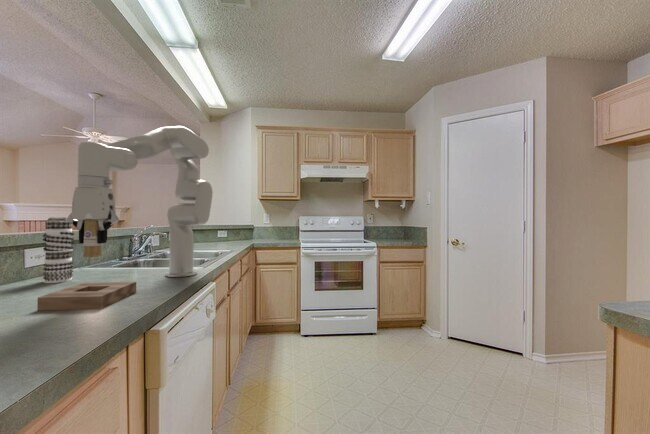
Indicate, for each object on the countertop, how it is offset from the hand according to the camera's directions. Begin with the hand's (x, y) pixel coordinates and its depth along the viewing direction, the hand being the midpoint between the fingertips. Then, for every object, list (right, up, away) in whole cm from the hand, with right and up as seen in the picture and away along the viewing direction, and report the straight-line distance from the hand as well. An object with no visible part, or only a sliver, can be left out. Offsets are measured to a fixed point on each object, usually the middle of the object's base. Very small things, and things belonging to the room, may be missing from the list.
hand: (93, 242), depth 87 cm
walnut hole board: (0, -18, 0) cm, 18 cm away
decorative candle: (-34, -18, +25) cm, 46 cm away
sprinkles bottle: (0, -5, 0) cm, 5 cm away
